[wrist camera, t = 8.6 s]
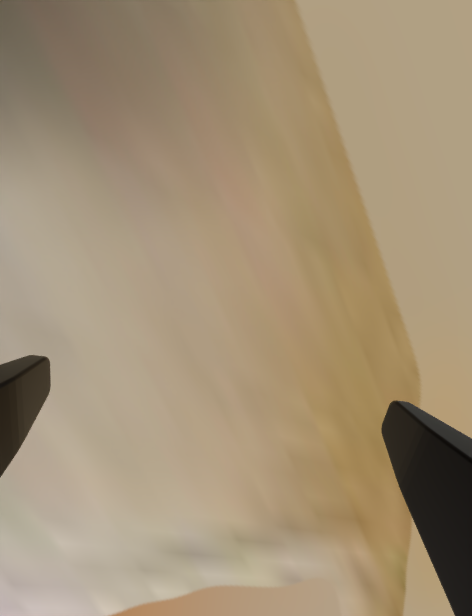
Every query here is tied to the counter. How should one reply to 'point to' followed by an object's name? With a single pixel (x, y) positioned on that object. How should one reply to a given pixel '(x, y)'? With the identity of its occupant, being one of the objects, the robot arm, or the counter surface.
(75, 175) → the counter surface
